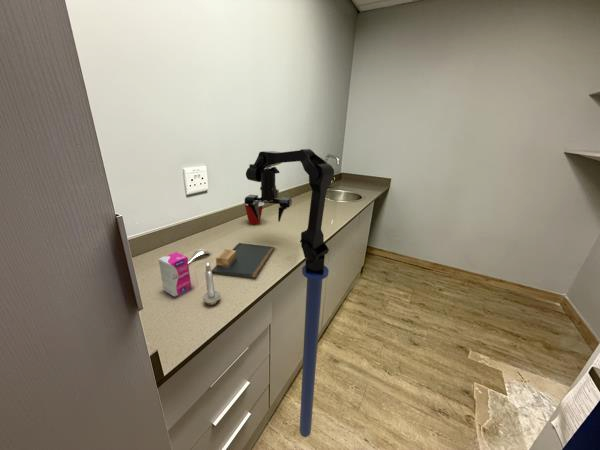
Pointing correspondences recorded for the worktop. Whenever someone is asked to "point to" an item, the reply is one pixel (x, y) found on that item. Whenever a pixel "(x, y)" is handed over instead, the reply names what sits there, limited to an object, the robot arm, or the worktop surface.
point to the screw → (210, 288)
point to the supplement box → (175, 274)
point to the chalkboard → (247, 261)
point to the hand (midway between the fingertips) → (268, 220)
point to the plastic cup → (251, 215)
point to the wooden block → (226, 259)
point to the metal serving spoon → (198, 253)
